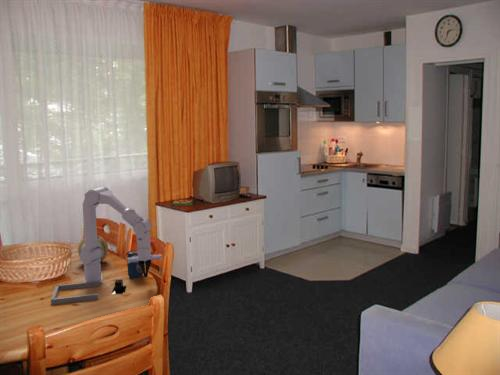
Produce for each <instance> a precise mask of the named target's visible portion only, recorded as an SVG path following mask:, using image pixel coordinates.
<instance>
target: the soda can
mask: <svg viewBox="0 0 500 375" xmlns="http://www.w3.org/2000/svg"><path fill="white" fill-rule="evenodd" d="M135 256H138V252H137V249H135V250H129V251H128V252H127V255H126V262H127V263H126V264H127V266H126V267H127V276H128V277H129V278H130V279H133V280H134V279H140V278H142V277H143V276H144V274H143V271H142V269H141V267H140V265H139V262H130V263H128V259H127V258H130V257H135Z"/></svg>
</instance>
